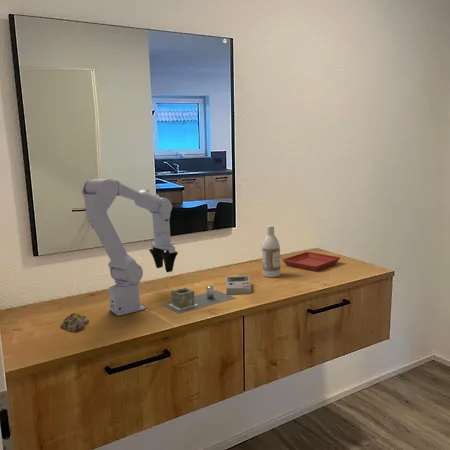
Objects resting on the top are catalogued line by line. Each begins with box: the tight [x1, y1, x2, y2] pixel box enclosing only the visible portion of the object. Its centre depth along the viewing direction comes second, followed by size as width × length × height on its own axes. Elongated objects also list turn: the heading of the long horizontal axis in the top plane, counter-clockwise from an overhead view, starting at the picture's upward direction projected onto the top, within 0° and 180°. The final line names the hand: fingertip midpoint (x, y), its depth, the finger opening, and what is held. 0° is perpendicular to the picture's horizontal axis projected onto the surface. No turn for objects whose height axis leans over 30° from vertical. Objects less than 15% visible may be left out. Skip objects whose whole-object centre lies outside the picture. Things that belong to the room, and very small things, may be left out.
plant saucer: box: [282, 251, 341, 272], centre depth 195 cm, size 18×18×3 cm
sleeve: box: [170, 287, 195, 308], centre depth 148 cm, size 5×5×4 cm
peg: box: [205, 285, 214, 299], centre depth 153 cm, size 2×2×4 cm
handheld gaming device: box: [225, 275, 253, 295], centre depth 164 cm, size 9×15×4 cm, turn 1°
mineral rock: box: [60, 312, 90, 332], centre depth 137 cm, size 11×4×8 cm
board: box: [161, 289, 237, 315], centre depth 151 cm, size 22×12×1 cm, turn 125°
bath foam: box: [261, 224, 281, 278], centre depth 180 cm, size 7×7×20 cm
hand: (164, 269), depth 161 cm, fingers open, 7 cm apart
